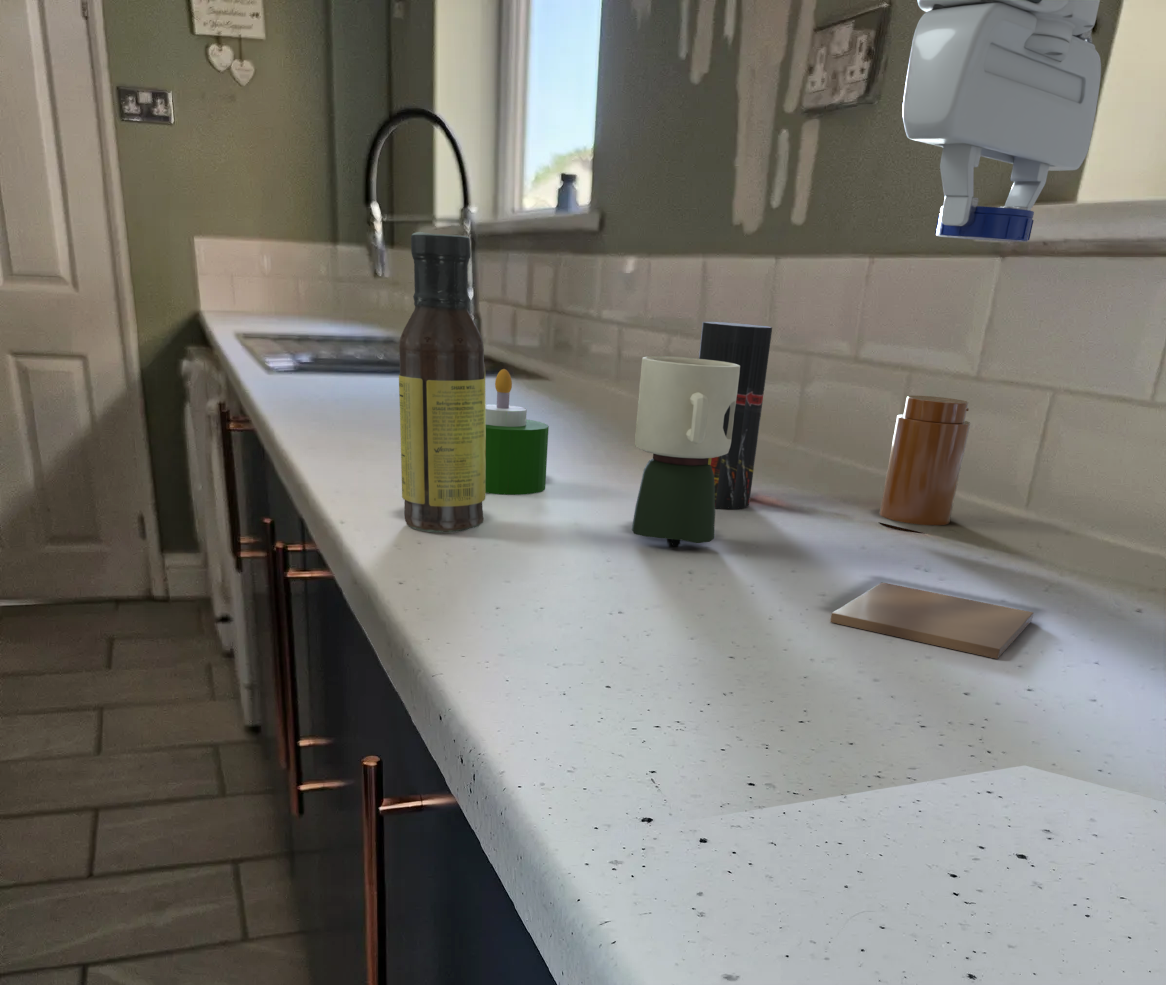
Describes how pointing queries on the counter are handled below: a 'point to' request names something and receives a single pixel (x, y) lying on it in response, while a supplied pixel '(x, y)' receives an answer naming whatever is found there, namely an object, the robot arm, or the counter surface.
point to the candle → (513, 446)
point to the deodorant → (739, 404)
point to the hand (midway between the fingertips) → (983, 230)
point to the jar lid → (992, 225)
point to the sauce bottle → (442, 392)
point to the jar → (925, 461)
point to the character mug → (682, 444)
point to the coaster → (935, 619)
